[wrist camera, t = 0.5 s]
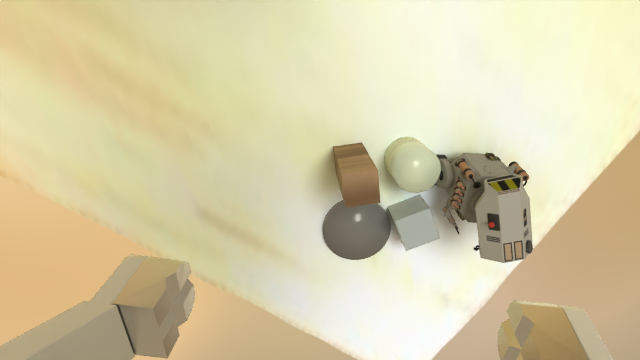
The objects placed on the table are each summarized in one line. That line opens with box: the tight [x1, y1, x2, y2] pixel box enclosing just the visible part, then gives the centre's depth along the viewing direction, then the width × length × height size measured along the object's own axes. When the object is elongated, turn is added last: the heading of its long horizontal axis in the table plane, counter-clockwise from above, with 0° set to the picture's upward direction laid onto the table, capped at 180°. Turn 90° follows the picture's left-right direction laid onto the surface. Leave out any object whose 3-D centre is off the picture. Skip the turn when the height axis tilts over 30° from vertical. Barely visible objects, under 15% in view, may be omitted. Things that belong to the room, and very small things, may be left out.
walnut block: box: [333, 143, 380, 208], centre depth 49 cm, size 4×4×12 cm
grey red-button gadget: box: [434, 153, 533, 263], centre depth 50 cm, size 9×12×15 cm
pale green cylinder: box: [385, 137, 441, 193], centre depth 52 cm, size 6×6×6 cm
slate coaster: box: [323, 200, 390, 260], centre depth 58 cm, size 10×10×1 cm
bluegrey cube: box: [388, 194, 440, 251], centre depth 56 cm, size 5×5×5 cm
